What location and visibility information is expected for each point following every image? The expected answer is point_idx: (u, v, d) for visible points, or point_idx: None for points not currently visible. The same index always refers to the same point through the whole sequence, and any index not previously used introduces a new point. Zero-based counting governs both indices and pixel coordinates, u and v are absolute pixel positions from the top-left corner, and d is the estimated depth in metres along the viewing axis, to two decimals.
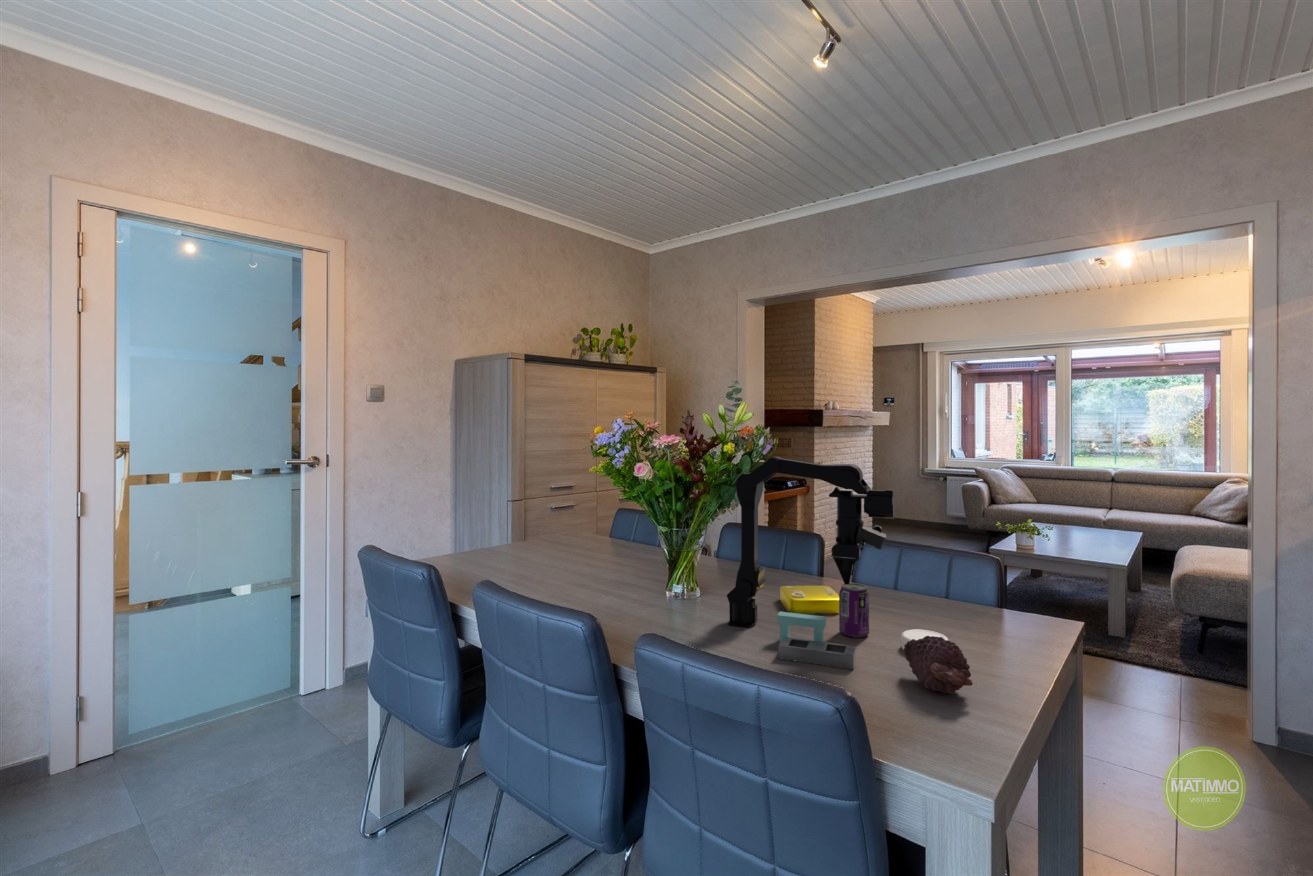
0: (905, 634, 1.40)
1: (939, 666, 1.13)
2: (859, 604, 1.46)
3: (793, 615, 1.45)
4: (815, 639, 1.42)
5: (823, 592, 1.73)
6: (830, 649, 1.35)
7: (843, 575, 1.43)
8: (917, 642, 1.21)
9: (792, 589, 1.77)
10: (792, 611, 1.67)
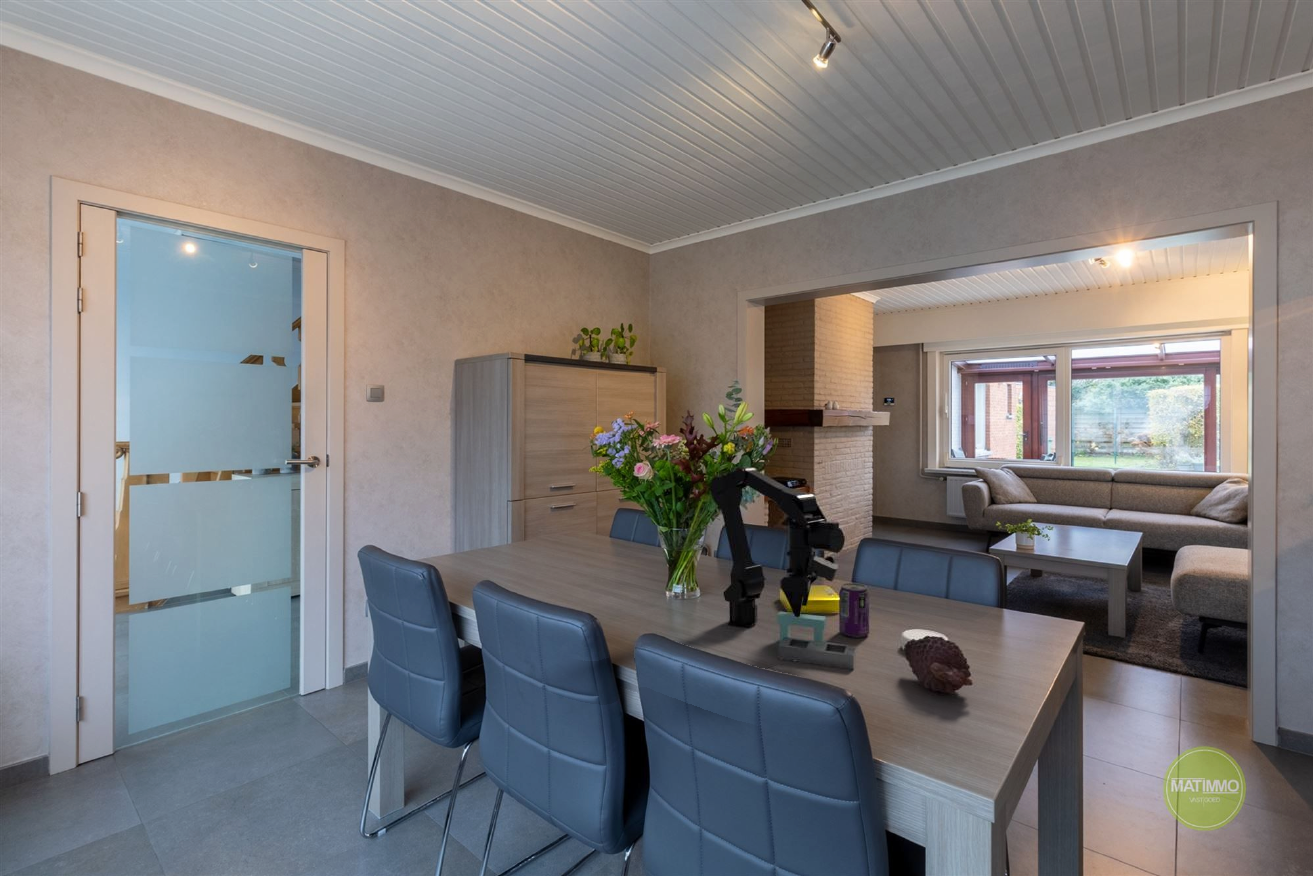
0: (905, 634, 1.40)
1: (939, 666, 1.13)
2: (859, 604, 1.46)
3: (793, 615, 1.45)
4: (815, 639, 1.42)
5: (823, 592, 1.74)
6: (830, 649, 1.35)
7: (793, 608, 1.40)
8: (917, 642, 1.21)
9: None
10: (792, 611, 1.67)
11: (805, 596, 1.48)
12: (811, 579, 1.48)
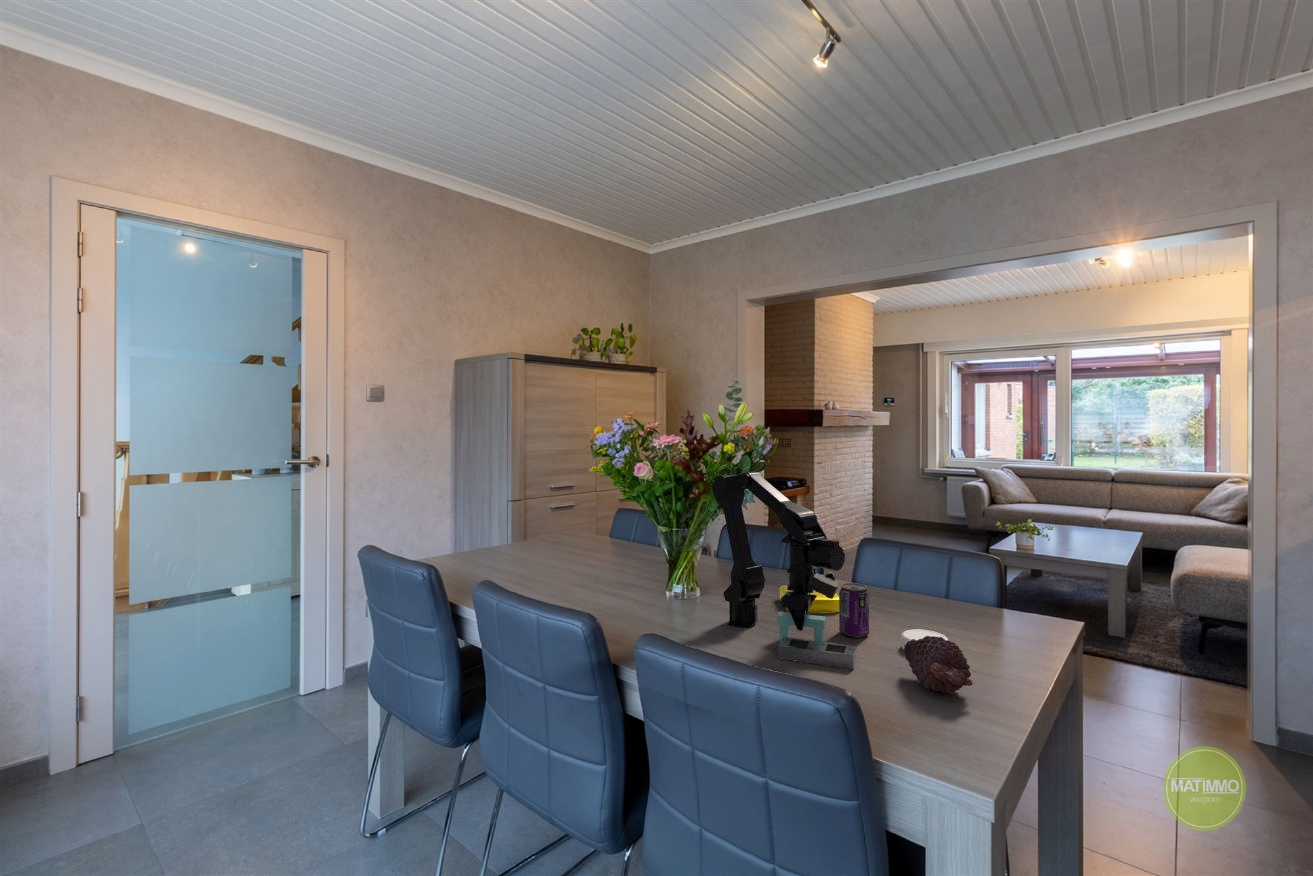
0: (905, 634, 1.40)
1: (939, 666, 1.13)
2: (859, 604, 1.46)
3: None
4: (815, 639, 1.42)
5: None
6: (830, 649, 1.35)
7: (796, 621, 1.42)
8: (917, 642, 1.21)
9: None
10: None
11: None
12: None
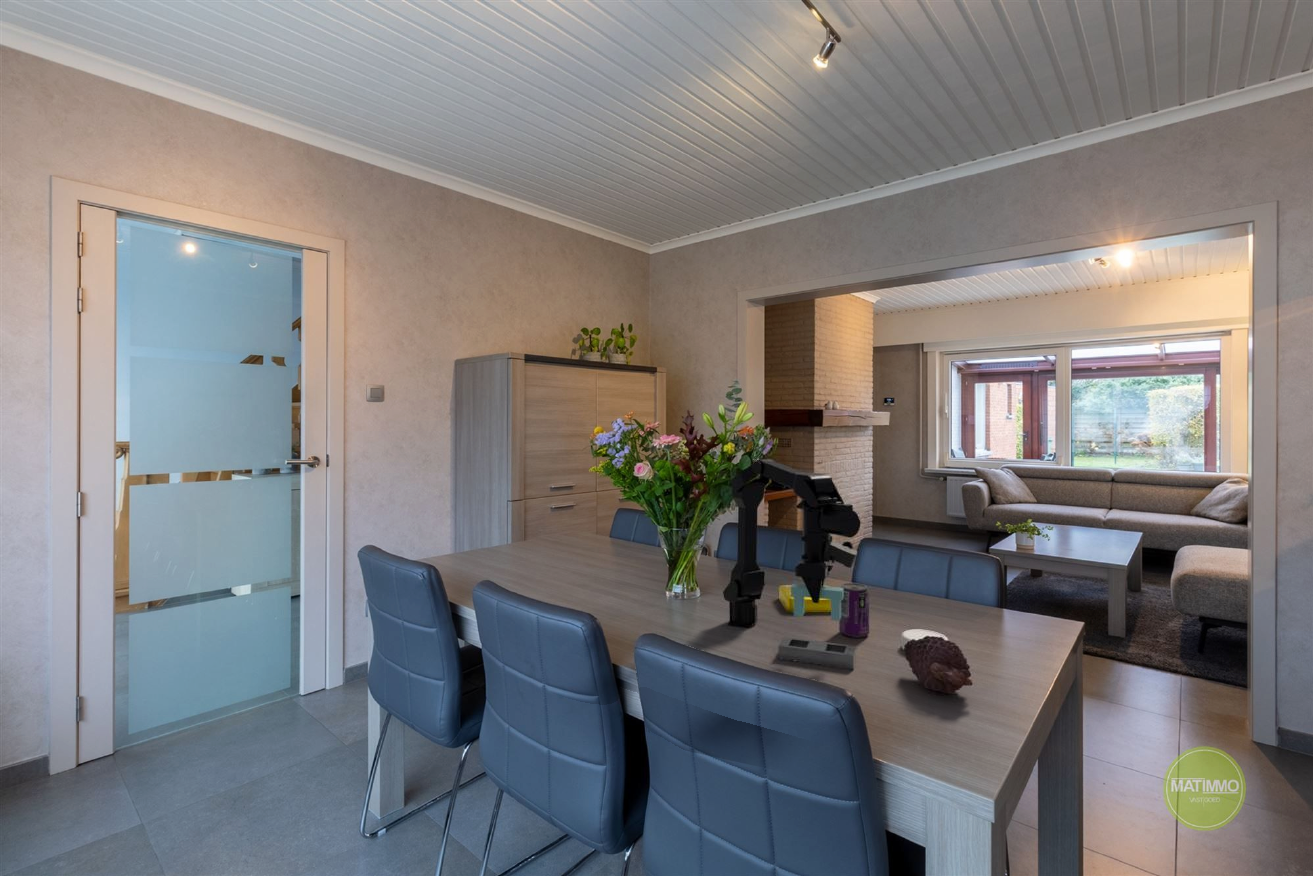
0: (905, 634, 1.40)
1: (938, 666, 1.13)
2: (859, 604, 1.46)
3: None
4: (832, 612, 1.31)
5: None
6: (830, 649, 1.35)
7: (811, 593, 1.32)
8: (917, 642, 1.21)
9: None
10: (790, 610, 1.68)
11: None
12: None
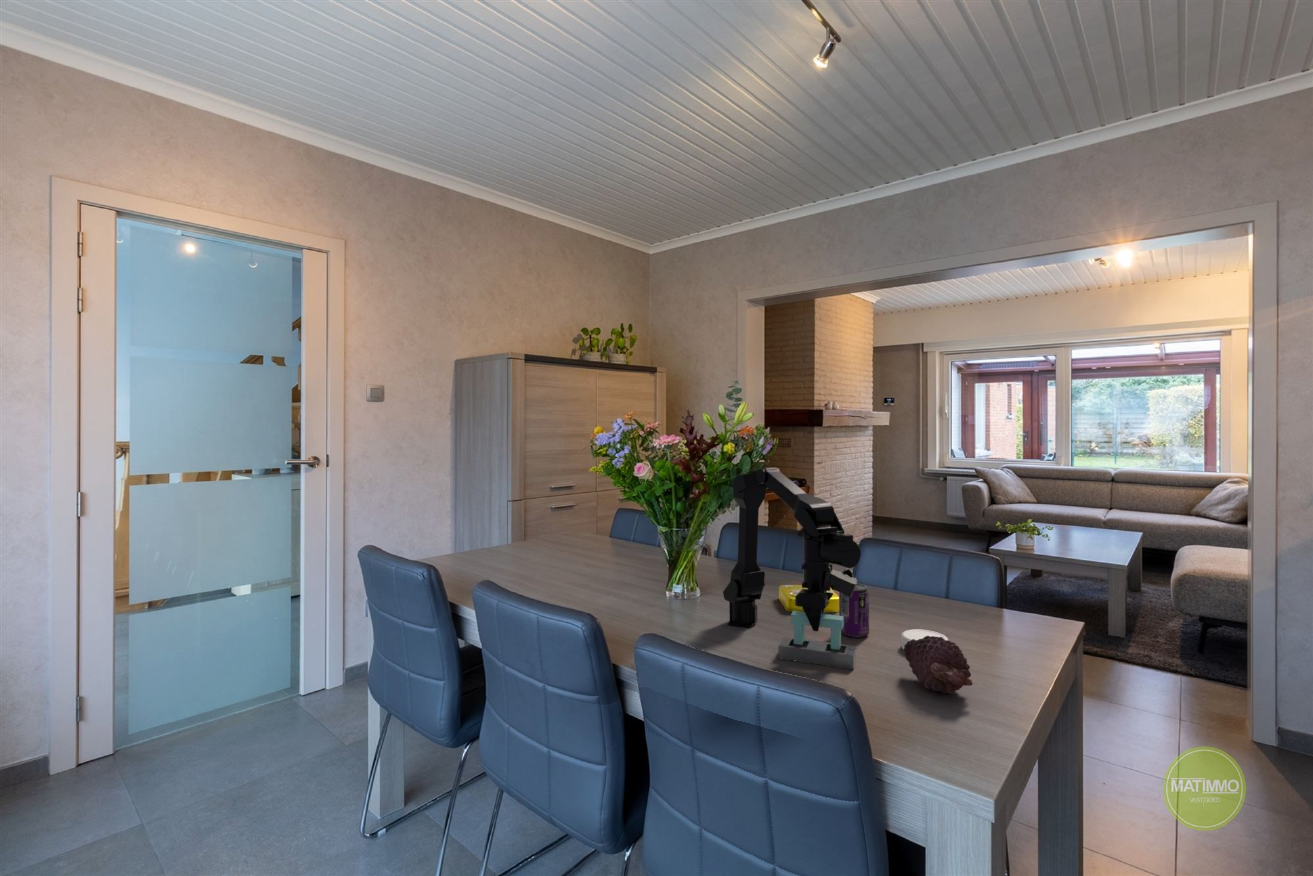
0: (905, 634, 1.40)
1: (938, 666, 1.13)
2: (859, 604, 1.46)
3: None
4: (832, 640, 1.31)
5: None
6: (830, 649, 1.35)
7: (811, 621, 1.32)
8: (917, 642, 1.21)
9: (791, 588, 1.78)
10: (790, 610, 1.68)
11: None
12: None
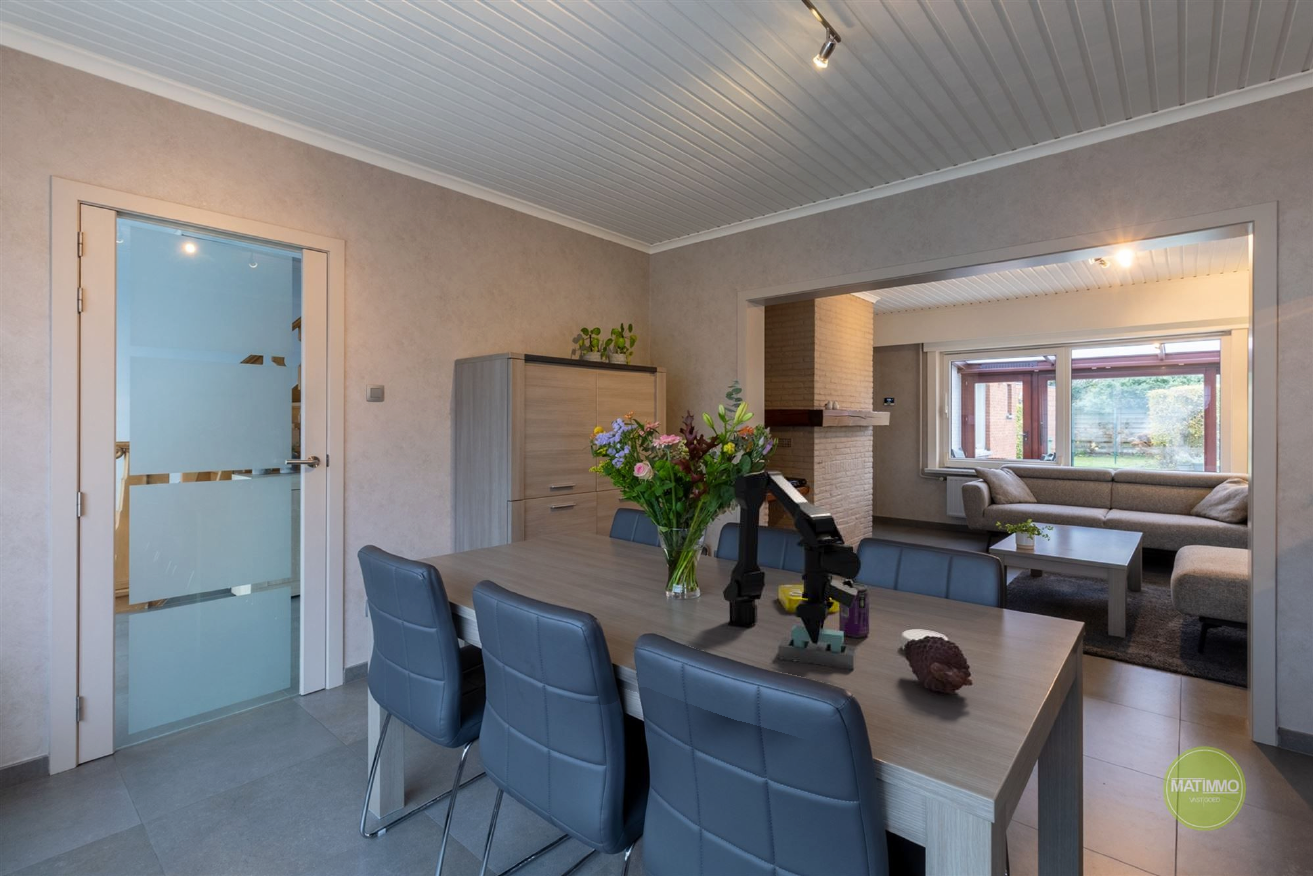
0: (905, 634, 1.40)
1: (938, 666, 1.13)
2: (859, 604, 1.46)
3: None
4: None
5: None
6: (830, 649, 1.35)
7: (810, 634, 1.31)
8: (917, 642, 1.21)
9: (790, 588, 1.78)
10: (790, 610, 1.68)
11: None
12: None
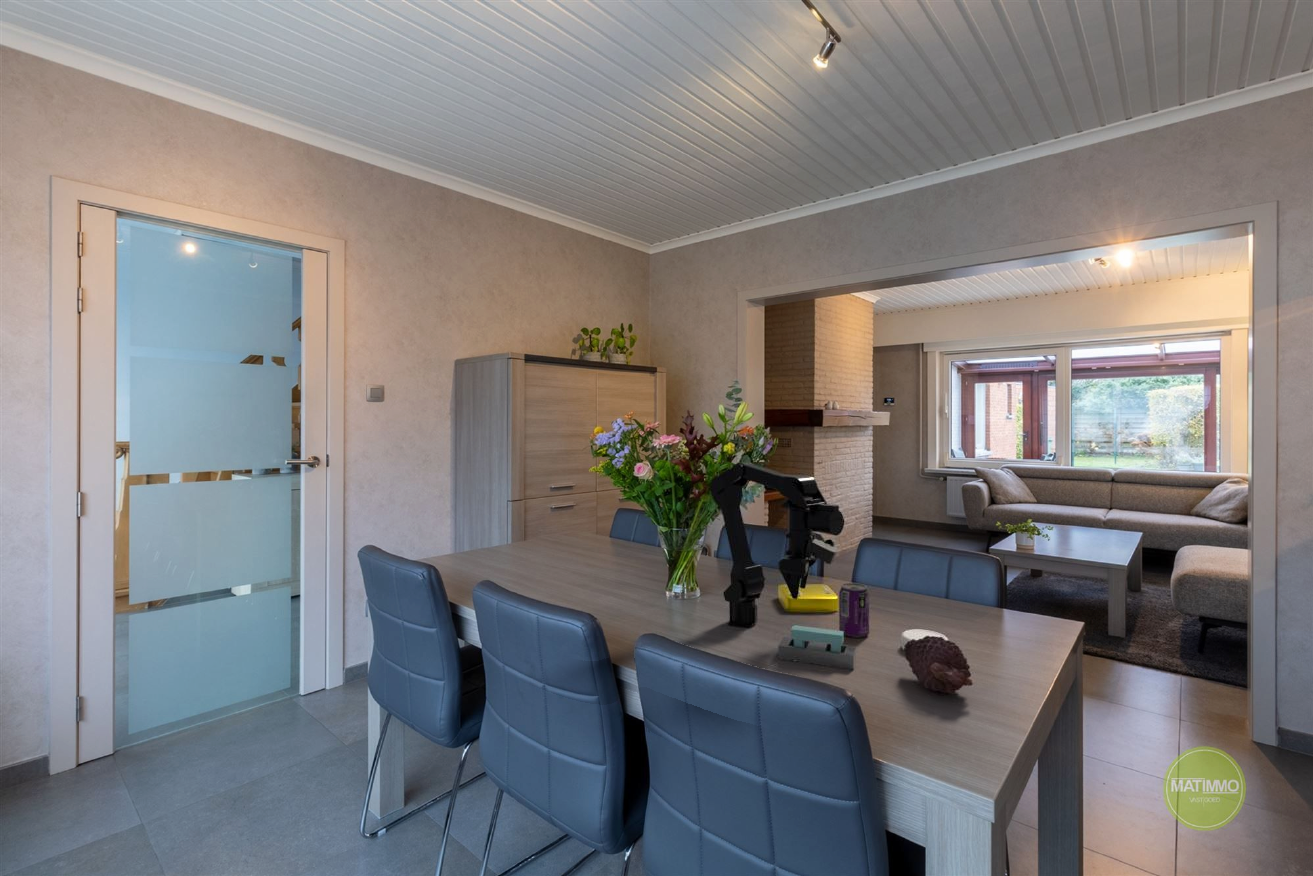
0: (905, 634, 1.40)
1: (938, 666, 1.13)
2: (859, 604, 1.46)
3: (808, 629, 1.34)
4: None
5: (820, 591, 1.75)
6: (830, 649, 1.35)
7: (791, 589, 1.40)
8: (917, 642, 1.21)
9: None
10: (789, 609, 1.69)
11: (804, 579, 1.48)
12: (810, 562, 1.48)
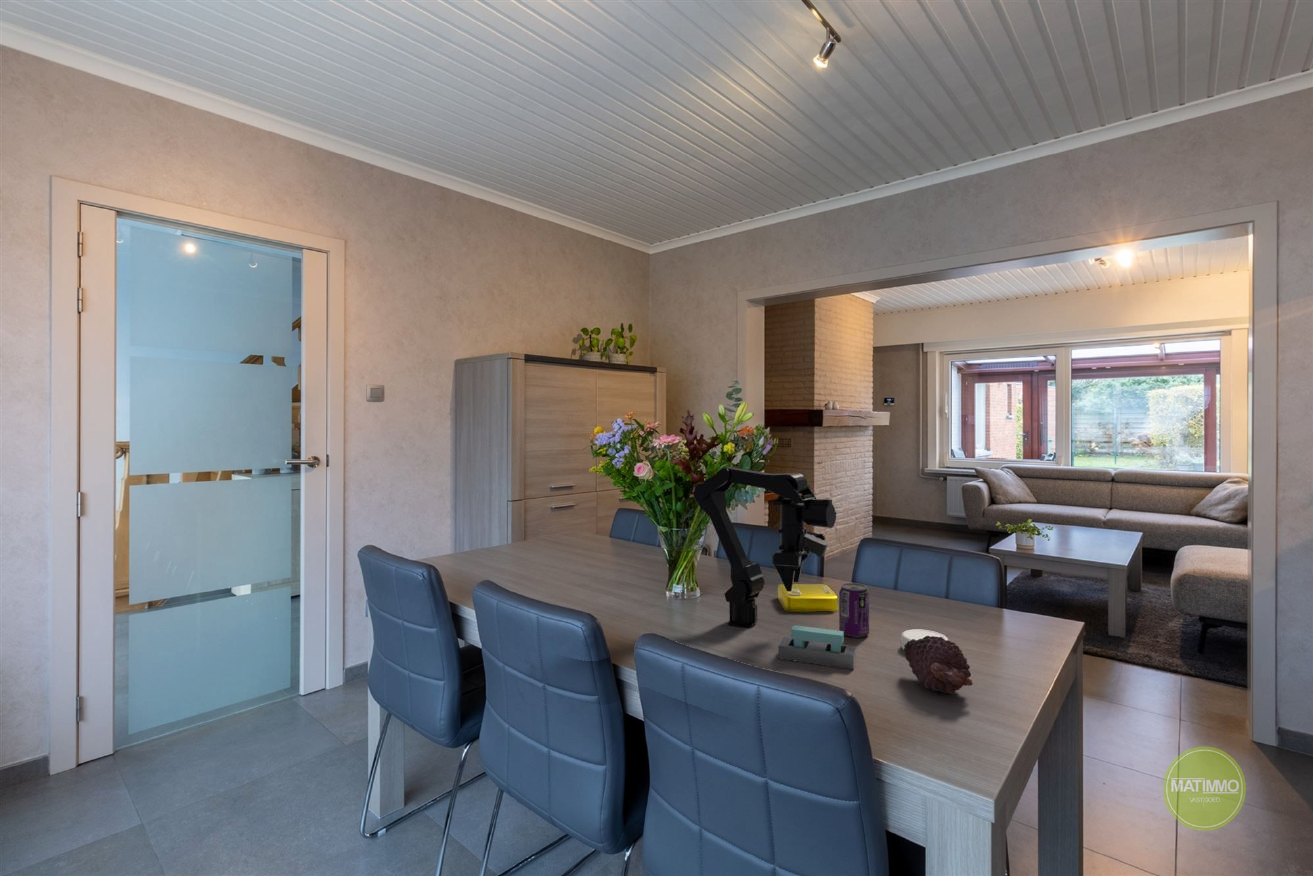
0: (905, 634, 1.40)
1: (938, 666, 1.13)
2: (859, 604, 1.46)
3: (808, 629, 1.34)
4: None
5: (820, 590, 1.75)
6: (830, 649, 1.35)
7: (785, 582, 1.45)
8: (917, 642, 1.21)
9: None
10: (788, 609, 1.69)
11: (797, 573, 1.54)
12: (802, 556, 1.54)
